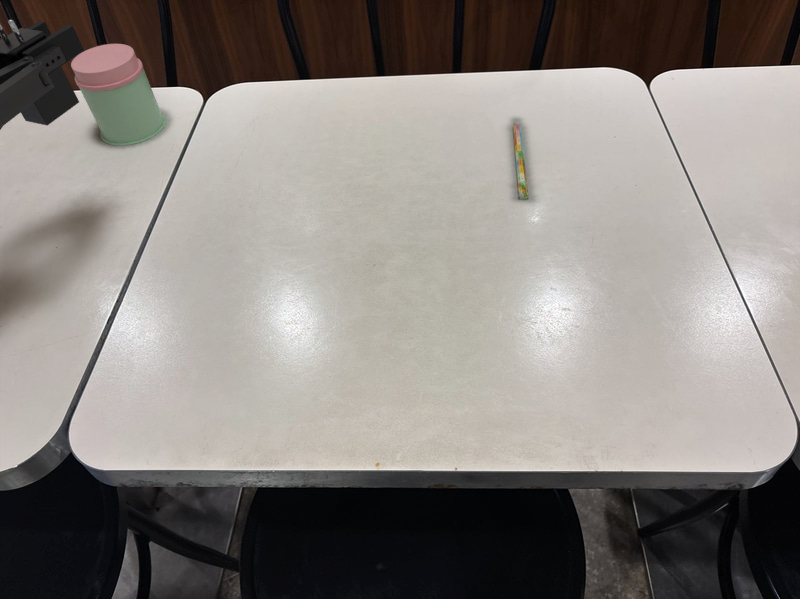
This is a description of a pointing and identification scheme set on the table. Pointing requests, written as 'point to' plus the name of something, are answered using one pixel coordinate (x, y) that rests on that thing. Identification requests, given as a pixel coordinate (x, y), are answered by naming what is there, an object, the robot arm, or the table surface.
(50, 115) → the wall charger plug
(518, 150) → the pencil
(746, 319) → the table surface
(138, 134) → the green canister pink lid
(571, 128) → the table surface
